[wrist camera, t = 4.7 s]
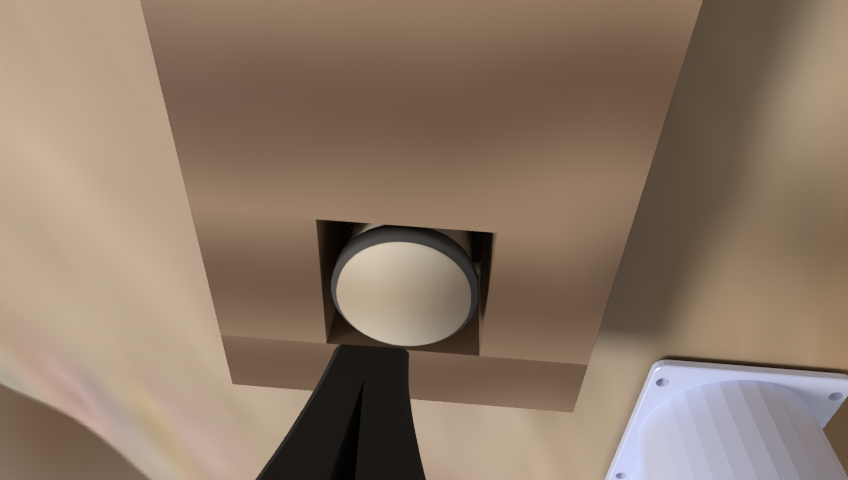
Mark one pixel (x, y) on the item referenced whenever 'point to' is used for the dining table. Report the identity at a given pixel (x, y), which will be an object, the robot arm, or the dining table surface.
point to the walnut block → (418, 168)
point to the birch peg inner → (406, 282)
